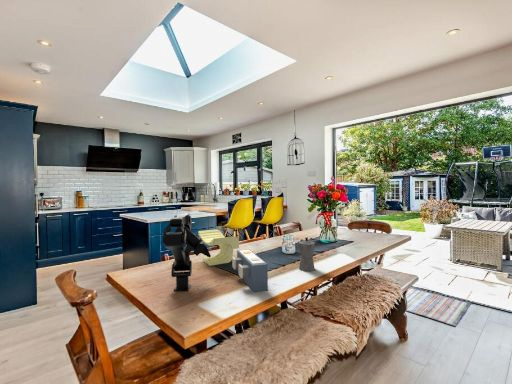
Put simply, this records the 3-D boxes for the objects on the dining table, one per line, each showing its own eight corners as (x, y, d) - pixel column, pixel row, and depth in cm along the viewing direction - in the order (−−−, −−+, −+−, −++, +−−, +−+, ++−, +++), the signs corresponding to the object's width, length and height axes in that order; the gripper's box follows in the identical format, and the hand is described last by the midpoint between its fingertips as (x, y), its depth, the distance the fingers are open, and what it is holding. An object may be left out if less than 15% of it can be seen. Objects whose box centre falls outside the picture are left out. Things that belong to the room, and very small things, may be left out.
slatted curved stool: (239, 265, 161) (238, 235, 161) (214, 269, 154) (213, 238, 153) (221, 254, 188) (220, 228, 187) (198, 257, 180) (198, 231, 180)
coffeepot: (319, 271, 147) (319, 239, 146) (303, 273, 145) (303, 240, 144) (308, 264, 162) (308, 234, 161) (293, 265, 160) (293, 235, 159)
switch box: (253, 292, 120) (252, 264, 120) (237, 271, 149) (237, 249, 148) (267, 290, 122) (267, 262, 122) (249, 270, 151) (249, 248, 151)
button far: (234, 269, 137) (234, 259, 137) (232, 266, 142) (232, 256, 142) (246, 268, 139) (246, 258, 139) (244, 265, 144) (244, 255, 144)
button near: (241, 278, 124) (241, 267, 124) (238, 274, 129) (238, 264, 129) (254, 276, 126) (254, 265, 126) (251, 273, 131) (251, 262, 131)
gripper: (175, 244, 140) (197, 263, 144) (176, 252, 122) (200, 274, 126) (190, 228, 142) (211, 248, 146) (193, 234, 125) (217, 256, 128)
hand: (210, 256), depth 136 cm, fingers closed
